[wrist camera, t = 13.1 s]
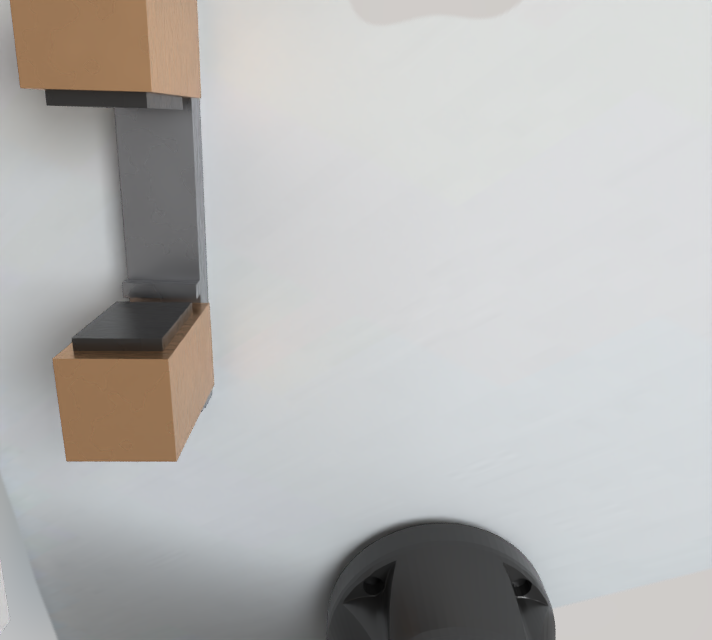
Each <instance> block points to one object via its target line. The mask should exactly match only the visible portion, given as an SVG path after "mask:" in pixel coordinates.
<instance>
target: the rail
mask: <svg viewBox="0 0 712 640" xmlns="http://www.w3.org/2000/svg"><path fill="white" fill-rule="evenodd" d="M10 5H11V14H12V22H13V30H14V39H15V47H16V56H17V64H18V72H19V81H20V88H25V89H36V90H45V94H46V103H47V105H50V106H77V107H104V108H114V111H115V123H116V136H117V148H118V161H119V173H120V186H121V198H122V211H123V224H124V236H125V249H126V261H127V274H128V279H127V280H126V281H124V282H123V283H122V288H123V297H126V298H129V299H130V302H192V303H208V284H207V261H206V237H205V214H204V190H203V167H202V143H201V120H200V98H201V84H200V61H199V37H198V13H197V0H10ZM211 395H212V390H211V392H210V394H209V396H208V398H207V400H206V402H205V404H204V406H203V408H202V410H201V412H202V411H203V409H204V408H206V406H207V404H208V402H209V400H210V398H211Z"/></svg>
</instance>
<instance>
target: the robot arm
mask: <svg viewBox="0 0 712 640" xmlns="http://www.w3.org/2000/svg"><path fill="white" fill-rule="evenodd" d="M9 621H10V618H9V611H8V605H7V598H6V592H5V586H4V580H3V574H2V567H1V561H0V634H1V633H2V631H3V630H4V628H5V627H6V625H7V623H8V622H9ZM327 640H555V621H554V615H553V610H552V607H551V604H550V601H549V598H548V596H547V594H546V591H545V589H544V586H543V584H542V582H541V579H540V577H539V575H538V573H537V571H536V570H535V568H534V567H533V565H532V564H531V563H530V561H529V560H528V559H527V558H526V557H525V556H524V555H523V554H522V553H521V552H520V551H519V550H518V549H517V548H516V547H514V546H513V545H512V544H510V543H509V542H507V541H506V540H504V539H502V538H501V537H499V536H497V535H495V534H492V533H490V532H487V531H485V530H482V529H479V528H475V527H471V526H466V525H459V524H447V523H439V524H426V525H419V526H414V527H410V528H406V529H403V530H400V531H397V532H394V533H392V534H389V535H387V536H385V537H383V538H381V539H379V540H377V541H376V542H374V543H373V544H371V545H370V546H368V547H367V548H365V549H364V550H363V551H362V552H360V553H359V554H358V555H357V556H356V557H355V558H354V559H353V560H352V561H351V562H350V563H349V564H348V565H347V567H346V568H345V569H344V571H343V572H342V574H341V575H340V577H339V578H338V580H337V582H336V584H335V586H334V588H333V591H332V594H331V597H330V601H329V606H328V617H327Z"/></svg>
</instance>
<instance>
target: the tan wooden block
mask: <svg viewBox="0 0 712 640" xmlns="http://www.w3.org/2000/svg"><path fill="white" fill-rule="evenodd" d="M53 367H54V374H55V381H56V389H57V396H58V403H59V411H60V418H61V425H62V432H63V440H64V447H65V454H66V461H170V462H177V459H178V457H179V455H180V453H181V451H182V449H183V447H184V445H185V443H186V441H187V439H188V437H189V435H190V433H191V431H192V429H193V427H194V425H195V423H196V421H197V419H198V417H199V415H200V413H201V410H202V408H203V406H204V404H205V402H206V400H207V398H208V396H209V394H210V392H211V390H212V388H213V386H214V372H213V355H212V338H211V321H210V304H209V303H192V302H116V303H115V304H113V305H112V306H111V307H110V308H108V309H107V310H106V311H105V312H103V313H102V314H101V315H100V316H98V317H97V318H96V319H95V320H94V321H92V322H91V323H90V324H89V325H87V326H86V327H85V328H84V329H82V330H81V331H80V332H79V333H77V334H76V335H75V336H74V337H73V338H72V343H71V344H70V345H68V346H67V347H66V348H65V349H64V350H62V351H61V352H60V353H59V354H58V355H56V356H55V357H54V358H53Z"/></svg>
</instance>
